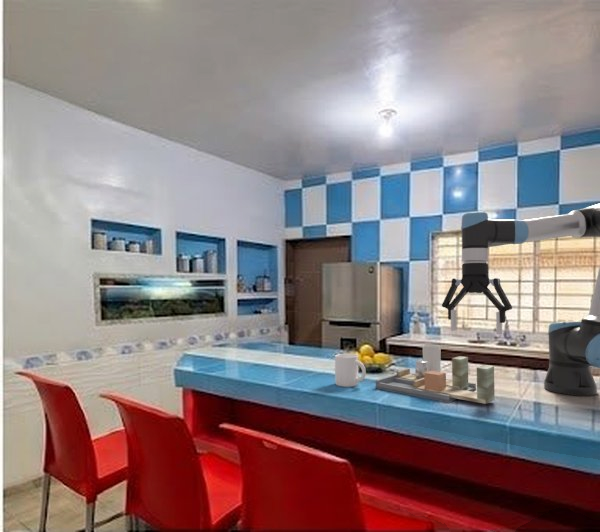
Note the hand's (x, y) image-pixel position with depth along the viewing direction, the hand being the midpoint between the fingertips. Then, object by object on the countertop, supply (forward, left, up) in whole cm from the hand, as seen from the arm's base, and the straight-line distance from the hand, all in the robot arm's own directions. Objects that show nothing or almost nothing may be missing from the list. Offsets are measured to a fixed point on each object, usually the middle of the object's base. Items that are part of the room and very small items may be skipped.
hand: (475, 332), depth 131 cm
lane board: (+19, -5, -21) cm, 29 cm away
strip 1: (+20, -11, -20) cm, 30 cm away
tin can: (+23, -11, -19) cm, 32 cm away
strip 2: (+8, 0, -20) cm, 22 cm away
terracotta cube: (+13, 0, -19) cm, 23 cm away
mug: (+41, +8, -22) cm, 47 cm away
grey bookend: (+26, -26, -22) cm, 43 cm away
